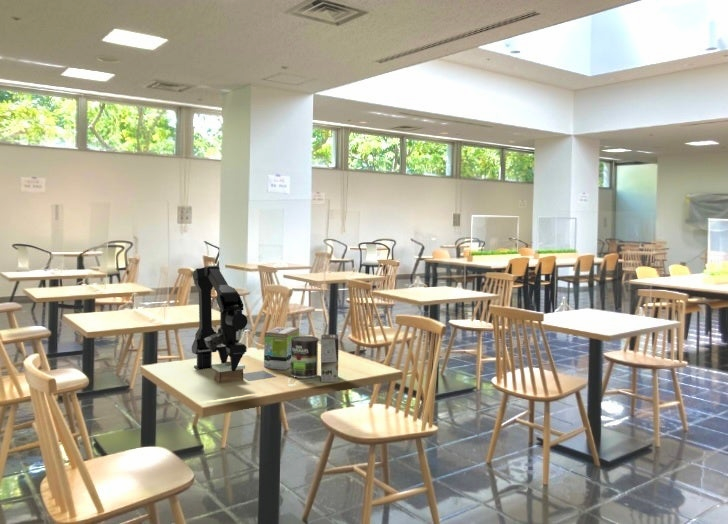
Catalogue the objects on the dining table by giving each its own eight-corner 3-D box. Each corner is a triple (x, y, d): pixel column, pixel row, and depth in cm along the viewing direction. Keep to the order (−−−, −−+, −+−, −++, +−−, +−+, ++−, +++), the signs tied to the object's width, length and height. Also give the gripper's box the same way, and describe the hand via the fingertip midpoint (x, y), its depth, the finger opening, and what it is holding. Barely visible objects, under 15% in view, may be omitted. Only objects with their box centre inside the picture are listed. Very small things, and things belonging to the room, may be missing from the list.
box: (213, 381, 215) (213, 368, 215) (237, 378, 220) (237, 365, 220) (219, 385, 210) (219, 371, 210) (243, 381, 216) (243, 368, 215)
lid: (212, 370, 215) (212, 361, 215) (237, 367, 221) (237, 358, 221) (219, 374, 209) (219, 366, 209) (245, 371, 215) (245, 362, 214)
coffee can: (310, 379, 220) (311, 342, 219) (286, 377, 223) (286, 339, 222) (322, 373, 229) (322, 337, 228) (298, 370, 233) (298, 335, 232)
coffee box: (338, 382, 217) (338, 338, 216) (320, 382, 216) (321, 338, 215) (337, 375, 226) (337, 334, 225) (320, 376, 225) (321, 334, 224)
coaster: (236, 376, 223) (236, 374, 223) (263, 372, 229) (263, 370, 229) (249, 383, 214) (249, 380, 214) (276, 378, 220) (276, 376, 220)
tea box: (287, 370, 234) (287, 333, 233) (263, 368, 236) (263, 331, 235) (299, 361, 248) (299, 326, 247) (276, 360, 250) (276, 325, 249)
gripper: (197, 323, 217) (197, 366, 218) (216, 331, 202) (216, 377, 203) (226, 321, 223) (226, 362, 224) (247, 328, 208) (247, 372, 209)
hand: (228, 368), depth 215 cm, fingers open, 9 cm apart
